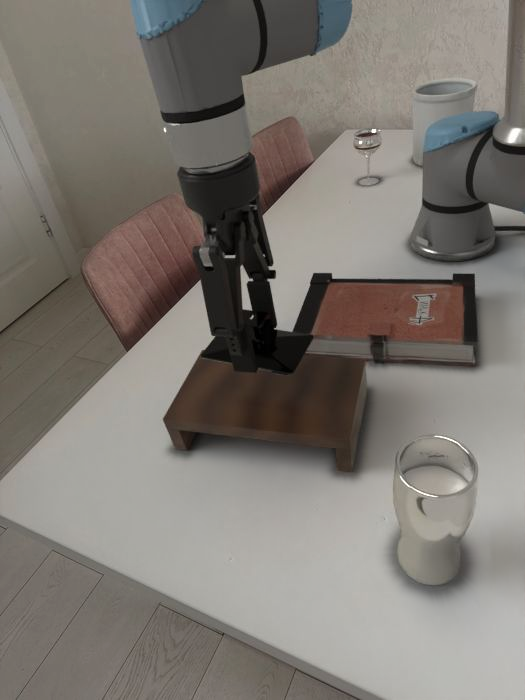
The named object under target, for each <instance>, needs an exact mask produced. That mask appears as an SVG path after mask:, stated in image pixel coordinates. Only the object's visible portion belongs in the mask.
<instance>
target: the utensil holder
mask: <svg viewBox="0 0 525 700" xmlns="http://www.w3.org/2000/svg"><path fill="white" fill-rule="evenodd" d="M477 89H478V81H477V80H475V79H472V78H466V77H445V78H438V79H433V80H428V81H424V82H423V83H420V84H417V85H416V86H414V87H413V88H412V90H411V91H412V93H411V96H412V98H413V99H412V100H413V102H412V161H413V163H414V164H416V165H418V166H420V167H423V149H424V141H425V133H426V131H427V129H428V127H429V126H430V125H432V124H433V123H435V122H436V121H438V120H441V119H443V118H446V117H450V116H453V115H457V114H462V113H468V112H474V107H475V97H476V92H477Z"/></svg>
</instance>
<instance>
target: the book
mask: <svg viewBox="0 0 525 700" xmlns="http://www.w3.org/2000/svg"><path fill="white" fill-rule="evenodd" d="M291 332H296V333H303V334H310V335H313V336H314V339H313V340H312V342H311V344H310V346H309V347H308V349H307V351H306V353H305V354H304V356H315V357H332V358H349V359H365V361H368V362H369V361H370V362H373V363H374V364H384V362H386V363H401V364H403V363H406V364H421V365H435V366H436V365H437V366H454V367H455V366H456V367H469V368H470V367H471V368H472V367H473V368H474V367H475V366H476V353H475V352H476V348H475V347H478V344H479V335H478V333H479V332H478V316H477V297H476V273H461V272H460V273H459V272H458V273H456V272H455V273H452V279H441V278H440V279H439V278H438V279H437V278H436V279H434V278H433V279H432V278H431V279H430V278H428V279H426V278H333V273H332V272H313V273H312V276H311V279H310V281H309V287H308V289H307V291H306V295H305V298H304V299H303V301H302V305H301V307H300V310H299V313H298V316H297V318H296V321H295V324H294V326H293V329H292V331H291Z"/></svg>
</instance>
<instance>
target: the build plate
mask: <svg viewBox="0 0 525 700" xmlns="http://www.w3.org/2000/svg"><path fill="white" fill-rule="evenodd" d="M253 314H254V312H253V311H252V309H244V308H243V323H245V324H248V327H249V331H250V336H251V340H252V344H253V349H254V353H255V357H256V362H257V366H258V369H263V370H268V371H272V372H273V373H275V374H280V375H292V374H294V372H295V370H296V368H297V367H298V365H299V363H300V361H301V360H302V358H303V356H304V354H305V353H306V351H307V349H308V347H309V346H310V344H311V342H312V340H313V339H314V336H313V335H310V334H303V333H296V332H292V331H288V330H282V329H277V328H274V325H273V320H272V319H270V316H269V313H268V312H260V311H257V313H256V314H255V315H254V316H253ZM203 350H204V351H203V353H202V354H201V358H203V359H209V360H214V361H219V362H225V363H230V364H232V360H231V357H230V353H229V349H228V346H227V342H226V338H225V337H219V336H213V339H212V340H211V341H210V342H209V344H208V345H207V346H206V347H205V349H203Z"/></svg>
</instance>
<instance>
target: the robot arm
mask: <svg viewBox="0 0 525 700" xmlns="http://www.w3.org/2000/svg"><path fill="white" fill-rule="evenodd" d="M352 1H353V0H129V5H130V9H131V13H132V17H133V22H134V26H135V33H136V36H137V37H136V38H137V40H139V43H140V47H141V48H142V53H143V57H144V60H145V63H146V66H147V70H148V73H149V77H150V79H151V84H152V86H153V90H154V93H155V98H156V100H157V103H158V107H159V111H160V115H161V119H162V122H163V125H164V127H163V134H164V135H165V136H166V137H167V141H168V143H169V148H170V151H171V154H172V159H173V162H174V164H175V165H176V166H178V167H179V168H178V170H177V172H176V173H177V174H176V175H177V178H178V179H177V180H178V182H179V186H180V189H181V193H182V197H183V201H184V203H185V205H186V207H187V208H188V209H189V210H190V211H192V212H194V213H197V214H198V215H199V216H200V217H201V218H202V229H203V230H202V232H203V237H204V239H205V240H204V241H203V243H202V245H193V247H192V249H191V254H192V258H193V260H194V262H195V265H196V268H197V270H198V274H199V279H200V284H201V285H200V286H201V290H202V295H203V301H204V306H205V311H206V316H207V321H208V326H209V330H210V335H211V336H212V337H215V336H219V337H225V338H226V342H227V346H228V349H229V353H230V357H231V360H232V364H233V368H234V371H238V372H251V373H256V372H257V370H258V366H257V362H256V357H255V353H254V349H253V344H252V340H251V336H250V331H249V327H248V324H245V323H243V309H244V307H243V291H242V272H241V267H243V269H244V271H245V274H246V275H247V277H248V279H250V280H248V281H247V283H246V289H247V295H248V297H249V302H250V308H251V310H252V311H253V312H254V314H253V316H252V317H254V315H255V314H256V313H257V311H260V312H268V313H269V316H270V319H272V320H273V325H274V329H277V327H278V320H277V319H278V318H277V315H276V310H275V304H274V298H273V292H272V287H271V283H270V281H269V280H275V279H276V278H277V271H276V269H270V267H271V268H272V267H273V266H274V258H273V257H274V256H273V252H272V249H271V245H270V241H269V236H268V233H267V229H266V226H265V225H266V224H265V221H264V216H263V213H262V207H261V195H260V190H261V184H260V178H259V173H258V167H257V161H256V156H255V155H254V154H253V153H252V152H251V151H252V150H253V148H254V140H253V136H252V135H253V134H252V130H251V124H250V119H249V114H248V108H247V103H246V98H245V92H244V85H243V84H244V83H243V77H244V76H248V75H251V74H254V73H256V72H259V71H263V70H266V69H268V68H273V67H275V66H278V65H282V64H285V63H288V62H291V61H296V60H298V59H301V58H304V57H307V56H309V57H313V56H316V54H317V53H321V51H324V50H326V49H328V48H331V47H333V46H336V44H338V43H339V42H340V41H341V40H342V39H343V38H344V36H345V34H346V32H347V31H348V28H349V25H350V23H351V20H352V19H351V18H352V15H353V14H352V13H353V2H352ZM507 14H508V16H507V18H508V19H507V39H506V41H507V43H506V67H505V90H504V92H505V93H504V113H503V114H504V115H503V116H502V118H500V115H499V113H497V112H496V111H493V110H477V111H473V112H468V113H462V114H457V115H453V116H450V117H446V118H443V119H441V120H438V121H436V122H435V123H433V124H432V125H430V126H429V127H428V129H427V131H426V133H425V141H424V149H423V166H422V182H421V183H422V186H421V190H422V191H421V197H422V198H421V207H420V209H419V212H418V214H417V217H416V220H415V222H414V226H413V228H412V230H411V233H410V245H411V249H412V250H413V251H414V252H415V253H416V254H418V255H420V256H422V257H424V258H426V259H430V260H433V261H434V260H435V261H439V262H461V261H462V262H463V261H469V260H473V259H477V258H479V257H482V256H484V255H486V254H488V252H490V251H492V249H493V247H494V246H495V242H496V241H495V240H496V232H525V225H494V220H493V217H492V212H491V209H490V205H494V206H498V207H501V208H505V209H508V210H513V211H516V212H521V213H523V215H525V0H508V13H507ZM226 256H234V257H226Z"/></svg>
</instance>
